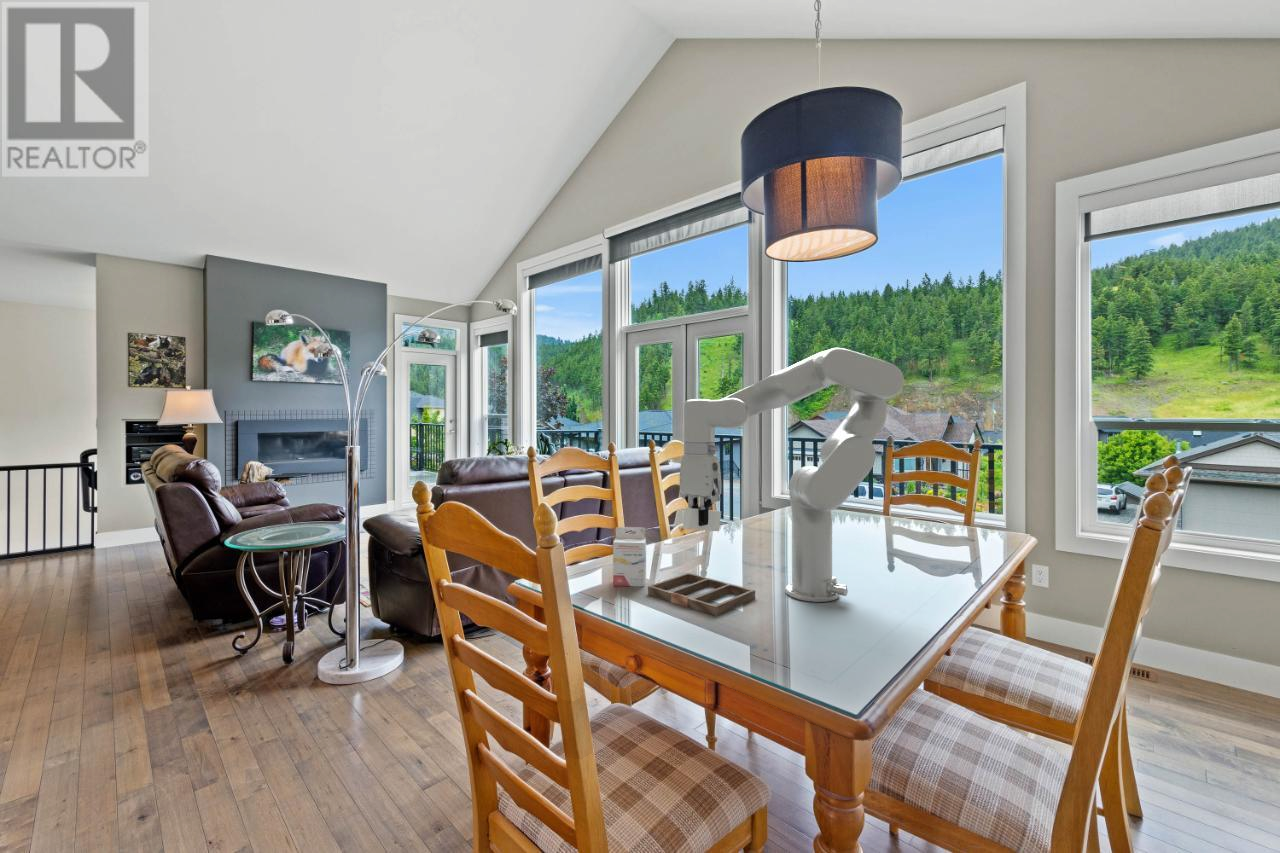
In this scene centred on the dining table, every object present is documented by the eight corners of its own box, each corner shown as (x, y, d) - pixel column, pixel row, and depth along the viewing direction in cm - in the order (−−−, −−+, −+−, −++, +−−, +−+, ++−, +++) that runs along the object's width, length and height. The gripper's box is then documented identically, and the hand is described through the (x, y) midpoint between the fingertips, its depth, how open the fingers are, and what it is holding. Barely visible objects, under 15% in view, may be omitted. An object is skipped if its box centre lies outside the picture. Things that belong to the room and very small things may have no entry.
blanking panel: (719, 531, 139) (721, 511, 139) (689, 529, 130) (691, 508, 131) (712, 530, 140) (714, 510, 141) (682, 528, 132) (685, 507, 132)
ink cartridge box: (612, 586, 144) (611, 530, 144) (615, 580, 149) (614, 526, 149) (645, 587, 143) (644, 530, 143) (646, 581, 148) (646, 526, 148)
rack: (755, 598, 133) (755, 588, 133) (715, 616, 122) (715, 605, 122) (688, 580, 148) (688, 571, 148) (647, 594, 137) (647, 584, 137)
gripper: (734, 450, 131) (734, 526, 132) (684, 447, 143) (685, 518, 143) (715, 452, 126) (715, 531, 127) (665, 449, 137) (665, 522, 138)
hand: (699, 524), depth 135 cm, fingers closed on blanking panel, 1 cm apart
